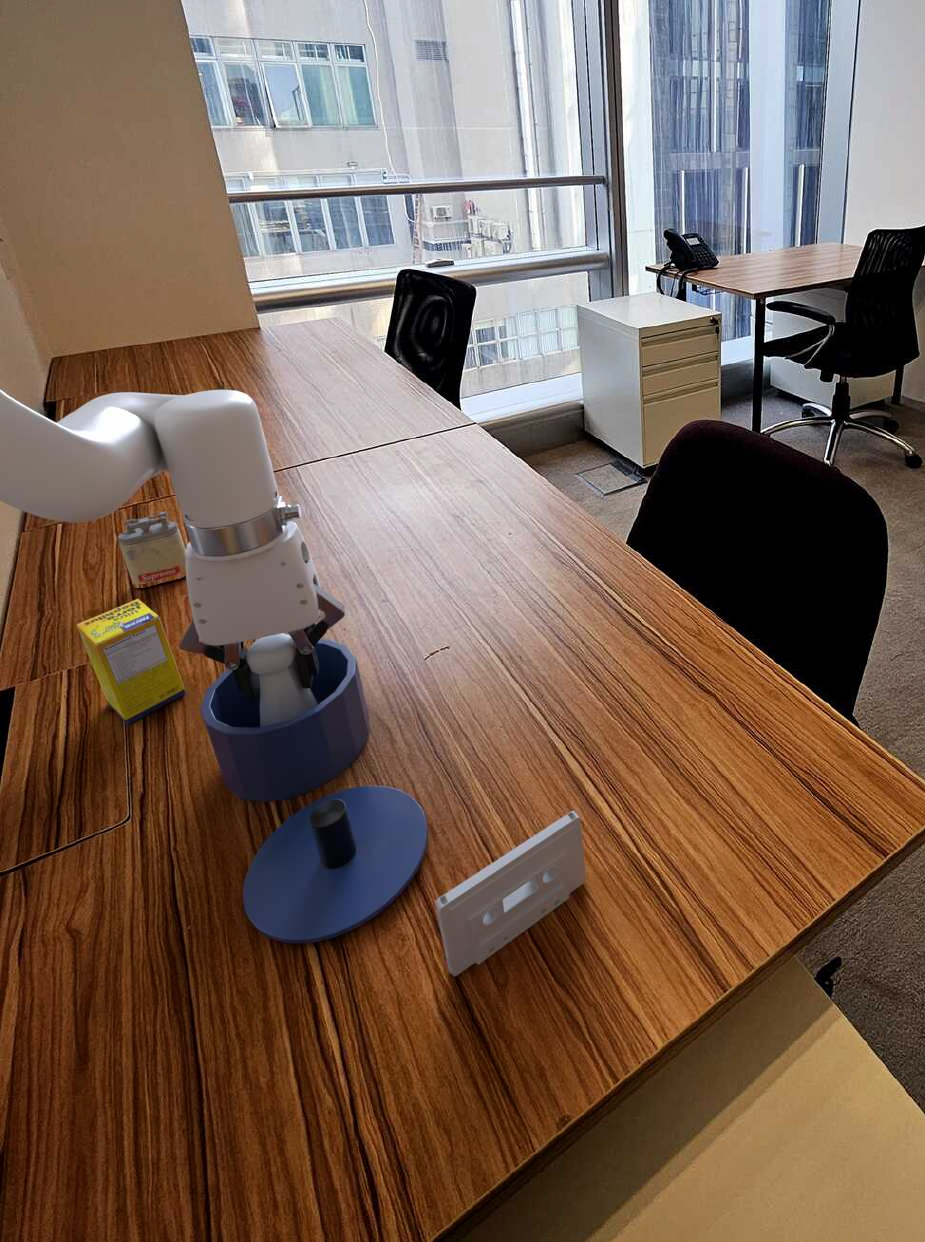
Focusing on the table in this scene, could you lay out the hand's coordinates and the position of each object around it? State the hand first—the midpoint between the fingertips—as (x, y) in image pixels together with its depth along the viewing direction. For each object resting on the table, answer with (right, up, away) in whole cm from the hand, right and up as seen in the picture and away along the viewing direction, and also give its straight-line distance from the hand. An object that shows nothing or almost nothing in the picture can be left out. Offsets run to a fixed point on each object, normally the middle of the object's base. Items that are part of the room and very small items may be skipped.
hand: (281, 684), depth 74 cm
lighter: (-35, +4, +32) cm, 48 cm away
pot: (0, -8, +3) cm, 8 cm away
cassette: (+27, -15, -14) cm, 34 cm away
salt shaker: (0, -7, +3) cm, 8 cm away
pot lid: (+10, -12, -9) cm, 18 cm away
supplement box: (-21, -5, +10) cm, 24 cm away
